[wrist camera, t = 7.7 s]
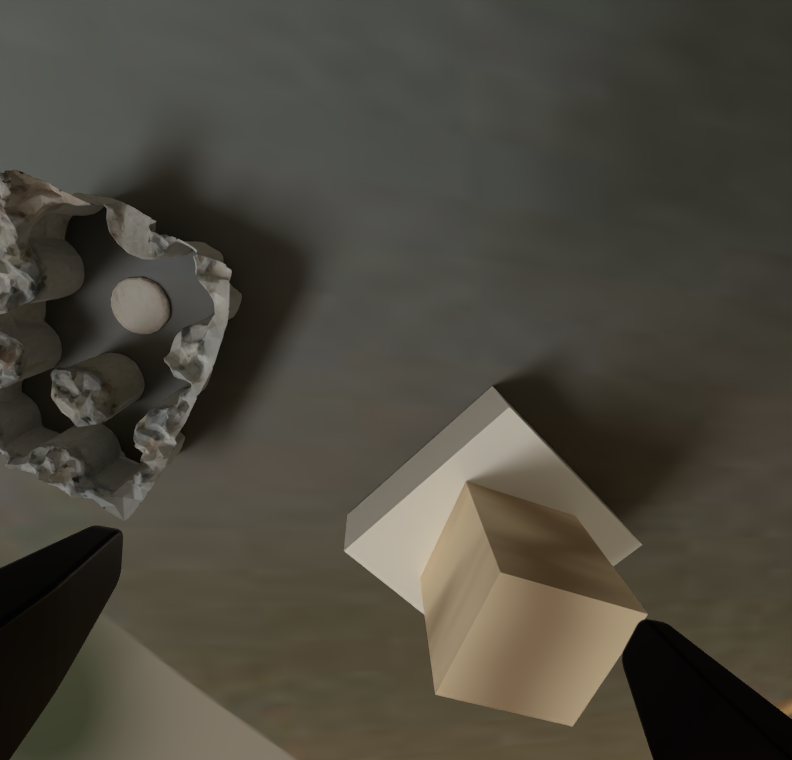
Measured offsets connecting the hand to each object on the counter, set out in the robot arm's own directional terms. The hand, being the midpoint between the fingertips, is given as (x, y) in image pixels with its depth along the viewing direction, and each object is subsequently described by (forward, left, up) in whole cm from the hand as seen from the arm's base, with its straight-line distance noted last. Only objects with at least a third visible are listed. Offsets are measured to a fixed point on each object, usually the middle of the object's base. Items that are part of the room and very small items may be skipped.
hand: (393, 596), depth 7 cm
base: (+1, +8, -12) cm, 14 cm away
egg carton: (+6, -8, -12) cm, 16 cm away
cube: (+1, +8, -9) cm, 12 cm away
